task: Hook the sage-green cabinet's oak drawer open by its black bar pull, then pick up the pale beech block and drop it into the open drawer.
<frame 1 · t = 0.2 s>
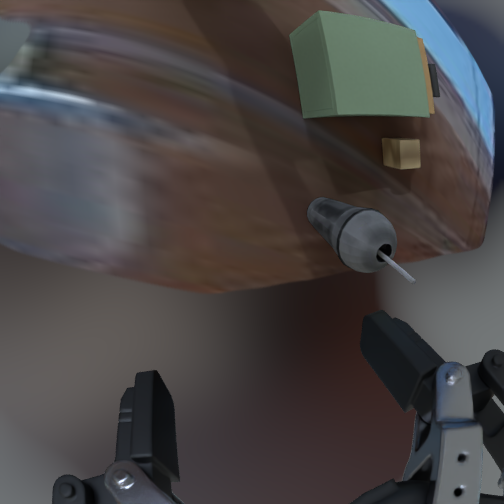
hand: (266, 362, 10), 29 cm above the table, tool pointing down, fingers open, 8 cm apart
block: (392, 151, 39), on the table
cabinet: (342, 75, 33), on the table
beverage cup: (320, 211, 40), on the table
drawer: (390, 73, 29), point 5 cm above the table, slide at 1.0 cm
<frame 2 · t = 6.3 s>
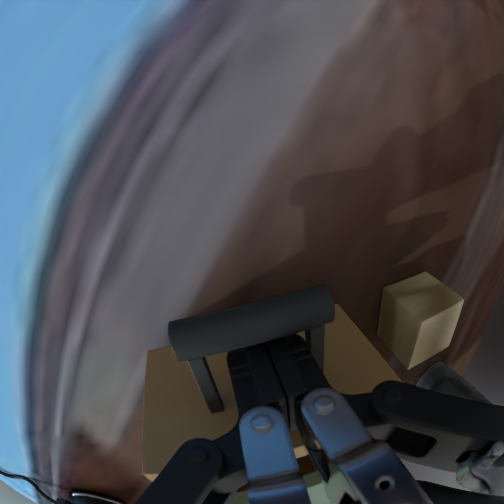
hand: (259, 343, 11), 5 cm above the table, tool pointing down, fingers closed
block: (401, 303, 19), on the table
cabinet: (263, 416, 21), on the table
beverage cup: (428, 374, 26), on the table
drawer: (270, 424, 14), point 5 cm above the table, slide at 2.4 cm, touching gripper
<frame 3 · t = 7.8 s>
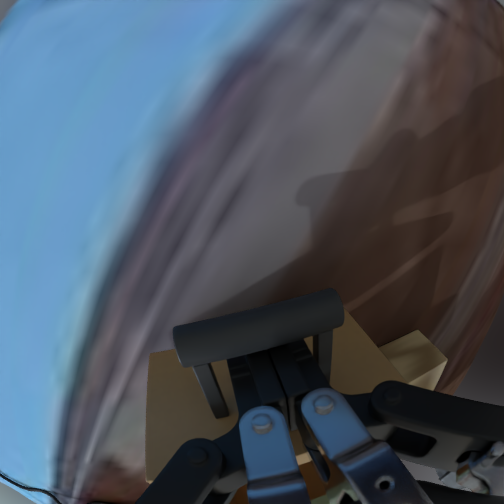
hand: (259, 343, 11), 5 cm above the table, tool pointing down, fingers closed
block: (394, 355, 21), on the table
drawer: (274, 427, 13), point 5 cm above the table, slide at 8.0 cm, touching gripper
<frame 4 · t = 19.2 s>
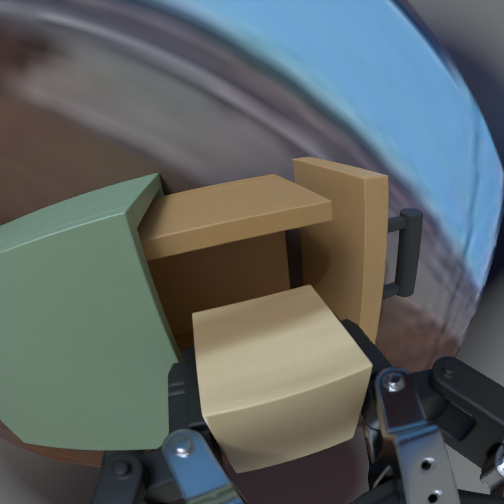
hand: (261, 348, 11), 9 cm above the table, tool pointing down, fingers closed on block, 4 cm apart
block: (260, 343, 11), point 9 cm above the table, touching gripper
cabinet: (87, 285, 18), on the table
drawer: (272, 282, 15), point 5 cm above the table, slide at 8.0 cm
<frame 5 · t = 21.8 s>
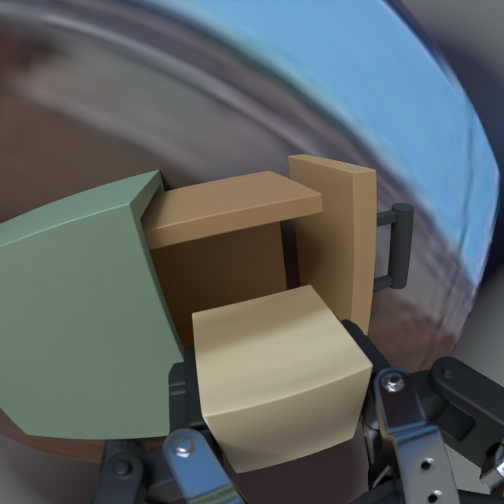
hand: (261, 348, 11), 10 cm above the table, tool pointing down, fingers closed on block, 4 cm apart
block: (260, 343, 11), point 10 cm above the table, touching gripper
cabinet: (89, 279, 18), on the table
beverage cup: (126, 429, 26), on the table
drawer: (268, 273, 16), point 5 cm above the table, slide at 8.0 cm
when the fingers open (11 cm above the table, at t = 29.2 s): block drops 8 cm, resting on drawer.
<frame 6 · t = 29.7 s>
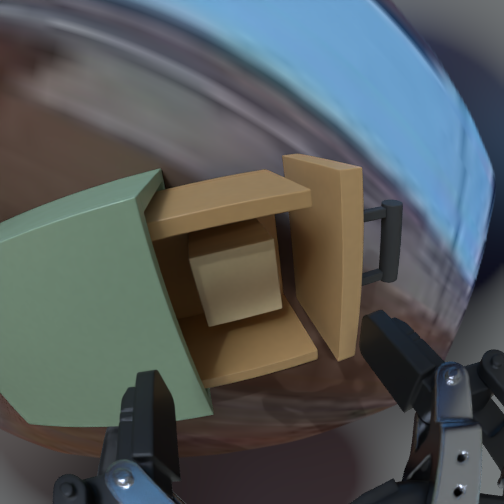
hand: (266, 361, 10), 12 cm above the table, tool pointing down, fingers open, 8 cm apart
block: (227, 253, 19), point 2 cm above the table, touching drawer
cabinet: (93, 273, 19), on the table
beverage cup: (126, 423, 27), on the table
drawer: (263, 266, 17), point 5 cm above the table, slide at 8.1 cm, touching block
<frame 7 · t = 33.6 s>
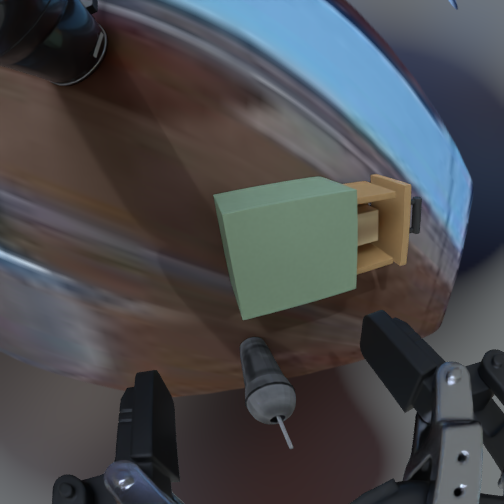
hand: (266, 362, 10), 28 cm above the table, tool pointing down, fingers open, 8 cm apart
block: (348, 218, 38), point 2 cm above the table, touching drawer
cabinet: (274, 228, 39), on the table
beverage cup: (252, 346, 46), on the table
drawer: (369, 222, 36), point 5 cm above the table, slide at 8.1 cm, touching block
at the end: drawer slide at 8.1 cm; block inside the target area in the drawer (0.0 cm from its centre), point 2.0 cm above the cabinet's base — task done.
